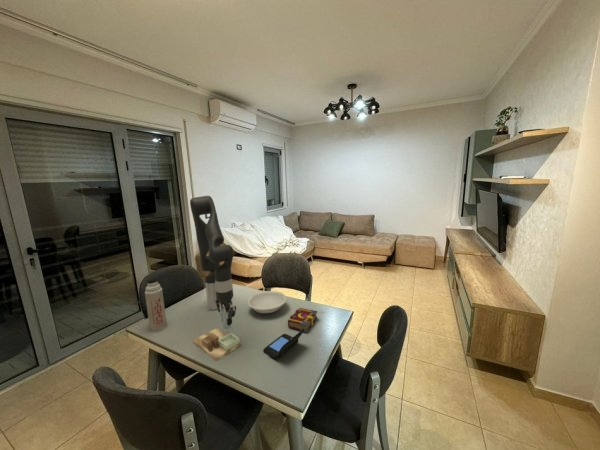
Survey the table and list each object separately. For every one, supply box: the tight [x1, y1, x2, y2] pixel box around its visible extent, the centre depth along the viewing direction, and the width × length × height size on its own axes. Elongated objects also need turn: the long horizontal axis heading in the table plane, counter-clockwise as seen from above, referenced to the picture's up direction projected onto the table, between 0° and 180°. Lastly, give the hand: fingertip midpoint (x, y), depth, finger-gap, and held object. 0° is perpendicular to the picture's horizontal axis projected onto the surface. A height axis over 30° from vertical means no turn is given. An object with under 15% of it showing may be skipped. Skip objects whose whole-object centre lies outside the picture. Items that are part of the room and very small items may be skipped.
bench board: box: [192, 327, 241, 362], centre depth 118 cm, size 13×21×5 cm, turn 50°
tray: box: [218, 332, 241, 351], centre depth 116 cm, size 7×7×2 cm
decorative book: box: [287, 307, 318, 333], centre depth 134 cm, size 11×16×5 cm
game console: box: [263, 329, 305, 361], centre depth 113 cm, size 16×14×9 cm
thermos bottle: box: [144, 278, 168, 333], centre depth 130 cm, size 8×8×28 cm
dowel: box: [221, 308, 232, 330], centre depth 113 cm, size 4×4×10 cm
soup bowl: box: [246, 290, 288, 314], centre depth 149 cm, size 24×24×7 cm
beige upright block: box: [202, 334, 219, 349], centre depth 116 cm, size 6×5×3 cm
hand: (227, 322), depth 114 cm, fingers closed on dowel, 3 cm apart
